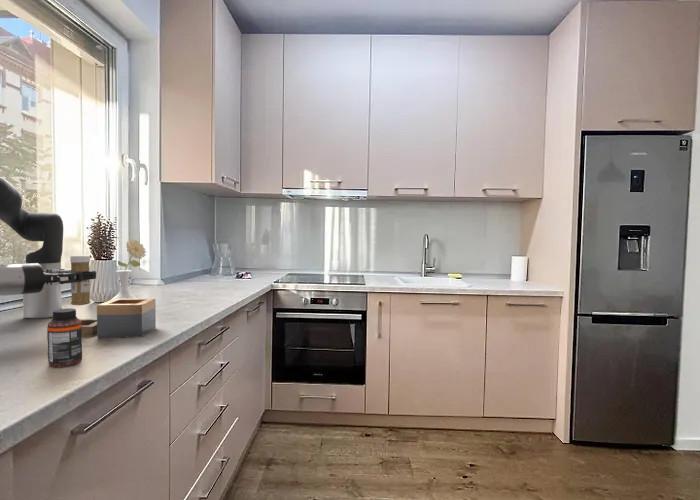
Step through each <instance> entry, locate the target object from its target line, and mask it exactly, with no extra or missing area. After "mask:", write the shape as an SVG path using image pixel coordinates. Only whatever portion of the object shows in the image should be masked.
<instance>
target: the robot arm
mask: <svg viewBox="0 0 700 500" xmlns="http://www.w3.org/2000/svg"><path fill="white" fill-rule="evenodd" d="M22 204H23V197H22V194H21V192H20V190H18V189H17V188H16V186H14V184H13V185H12V183H10V182H9V181H8V180H6V179H5V177H3V176H0V220H1V221H2V222H4V223H5V224H6V225H8V226H9V227H10V228H11V230H13V231H14V232H15V233H16V234H18V235H19V236H20V237H21V238H23V240H26V241H30V242H42V245H41V247H40V248H39V249H37V250H35V251H32V252H29V253H27V254H26V255H25V263H12V264H0V296H17V295H22V307H23V308H22V310H23V312H22V313H23V315H22V317H23V318H26V319H27V318H29V319H47V318H53V311H54V310H57V309H63V308H62V305H63V304H62V302H63V299H62V285H65V284H71V283H74V282H82V280H89V279H90V280H96V279H97V271H96V270H89V271H84V272H80V271H78V272H71V269H64V268H62V256H63V248H64V247H63V245H64V243H63V242H64V222H63V219H62V217H61V215H60V214H58V213H55V212H32V211H28V210H26V209H25V208H23V205H22ZM74 275H76V279H74Z"/></svg>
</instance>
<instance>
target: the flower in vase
mask: <svg viewBox="0 0 700 500" xmlns="http://www.w3.org/2000/svg"><path fill="white" fill-rule="evenodd" d="M125 245H126V251H127V252H128V254H129V255H130V257H129V261H128V263H125V262H122V261H119V260H118V261H117V264H118V266H120V267H123V268H124V269H121V270H120V269H119V270H115V272H116V273H117V275H118V278H119V282H120V283H119V284H120V287H119V288H120V290H119V292H118V293H117V294H116V295H115V296H113V297H112V298H111V299H110V300H113V299H138V298H137V297H136V296H135V295H133V294H132V293H130V291H129V288H128V286H129V285H128V282H129V281H128V280H129V277H130V274H131V272H133V270H130V269H127V268H128V267H129V264H130V265H131V266H132V267H134V268H137V267H139V266H141V262H139V261H138V260H136V259H139V260H142V259H143V258H145V256H147V255H146V252H147V251H146V248H145V247H144V245H143V244H141V243H140V241H138V239H133V238H131V239H129V240H128V241H126V244H125ZM132 258H135V259H132ZM131 259H132V260H131Z"/></svg>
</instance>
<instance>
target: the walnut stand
mask: <svg viewBox="0 0 700 500" xmlns="http://www.w3.org/2000/svg"><path fill="white" fill-rule="evenodd" d="M79 319H80V320H81V324H82V337H94V336H96V335H97V318H79ZM47 330H48V329H47V328H46V331H47ZM46 334H47V336H46V337H47V338H48V333H47V332H46Z"/></svg>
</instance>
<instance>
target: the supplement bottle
mask: <svg viewBox="0 0 700 500" xmlns="http://www.w3.org/2000/svg"><path fill="white" fill-rule="evenodd" d="M80 319H81V318H78V316H77V309H75V308H71V307H70V308H69V307H68V308H62V309H57V310H54V311H53V317H52V319H51V321H49V322H48V323H47V327H46V334H47V333H48V337H47V361H48V366H49V367H52V368H68V367H72V366H75V365H78V364H80V363H81V362H82V361H83V336H82V324H81V320H80ZM47 329H48V330H47Z"/></svg>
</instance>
